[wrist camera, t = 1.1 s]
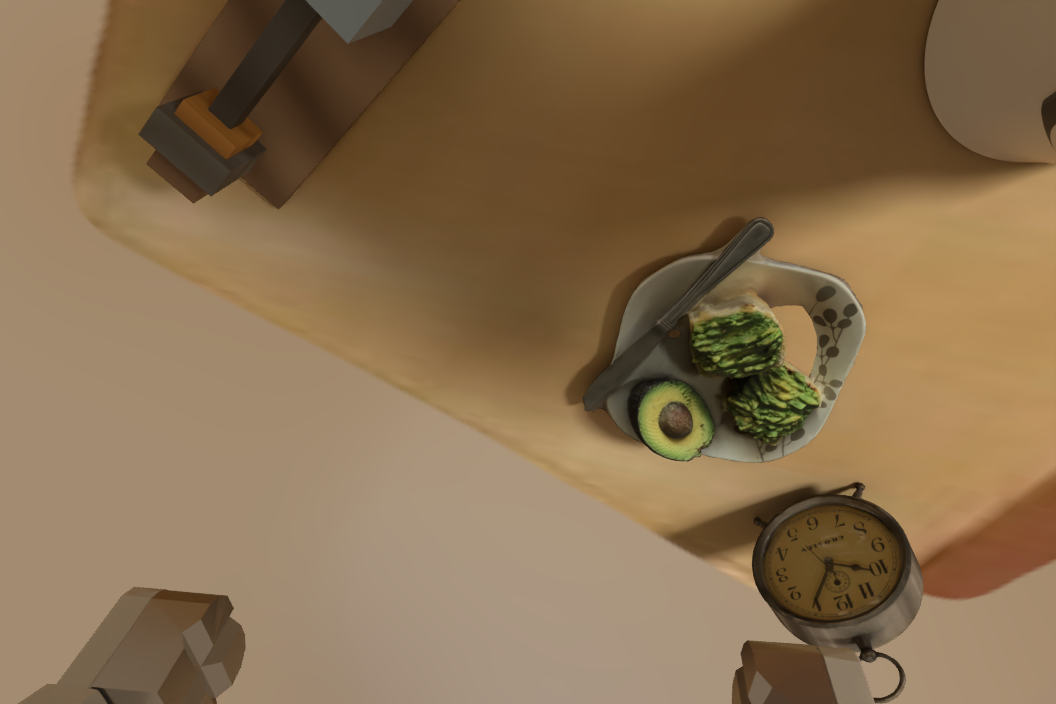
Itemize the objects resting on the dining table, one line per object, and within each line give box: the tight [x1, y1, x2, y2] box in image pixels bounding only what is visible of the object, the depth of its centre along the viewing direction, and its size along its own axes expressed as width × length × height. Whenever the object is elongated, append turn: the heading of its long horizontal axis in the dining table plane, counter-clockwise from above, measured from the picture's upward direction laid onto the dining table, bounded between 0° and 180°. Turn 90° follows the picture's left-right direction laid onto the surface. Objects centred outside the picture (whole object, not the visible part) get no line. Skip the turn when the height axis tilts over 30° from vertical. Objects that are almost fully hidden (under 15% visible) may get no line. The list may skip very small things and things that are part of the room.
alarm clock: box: [752, 483, 923, 703], centre depth 47 cm, size 11×5×16 cm, turn 122°
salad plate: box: [583, 217, 866, 463], centre depth 44 cm, size 19×18×5 cm
